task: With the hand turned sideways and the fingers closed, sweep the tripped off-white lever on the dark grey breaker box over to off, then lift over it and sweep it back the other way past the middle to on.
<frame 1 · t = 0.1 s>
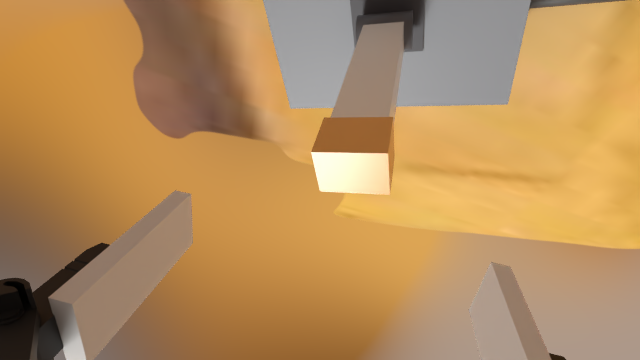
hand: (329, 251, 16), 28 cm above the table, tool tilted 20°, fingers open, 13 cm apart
breaker lever: (373, 79, 20), point 18 cm above the table, hinge at 0.0°
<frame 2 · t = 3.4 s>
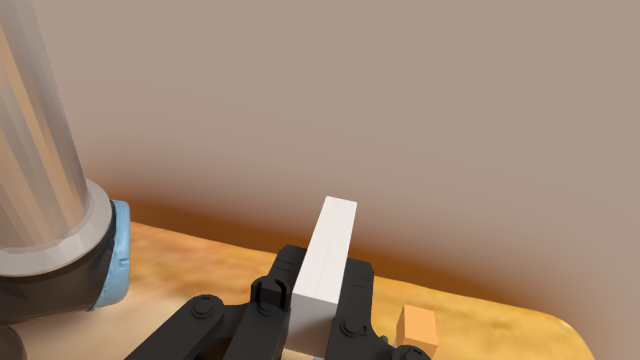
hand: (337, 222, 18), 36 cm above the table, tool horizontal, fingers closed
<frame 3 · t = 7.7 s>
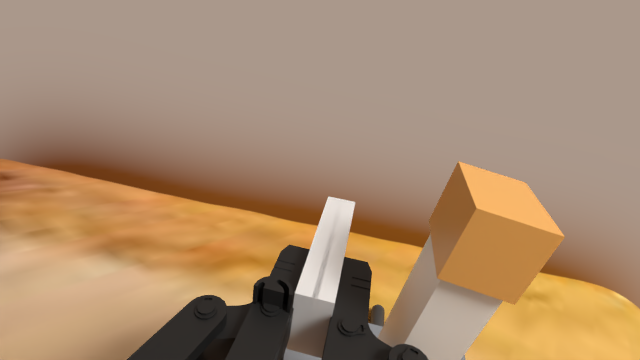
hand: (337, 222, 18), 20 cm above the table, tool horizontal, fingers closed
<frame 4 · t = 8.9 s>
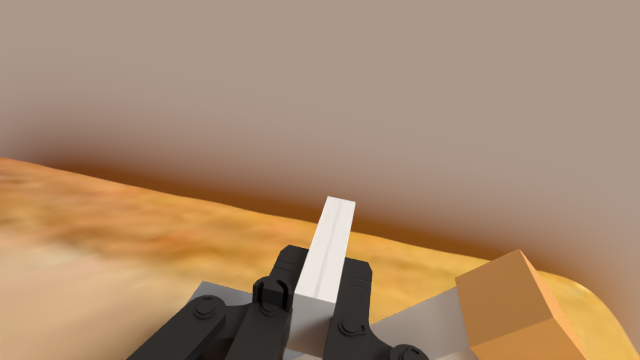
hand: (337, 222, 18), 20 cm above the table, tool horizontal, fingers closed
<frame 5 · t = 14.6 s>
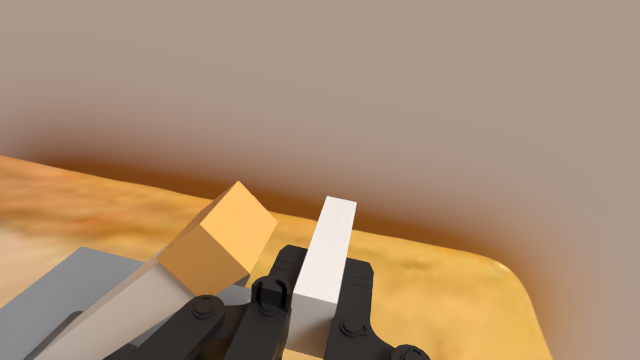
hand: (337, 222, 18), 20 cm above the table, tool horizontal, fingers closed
breaker lever: (128, 307, 15), point 17 cm above the table, hinge at 40.9°, touching gripper
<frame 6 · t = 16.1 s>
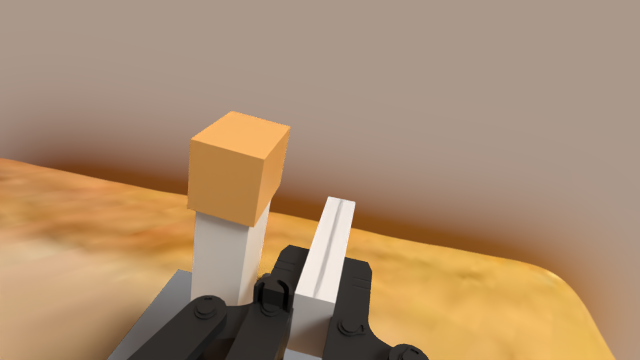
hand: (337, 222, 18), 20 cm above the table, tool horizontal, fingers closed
breaker lever: (224, 300, 15), point 18 cm above the table, hinge at 4.3°, touching gripper
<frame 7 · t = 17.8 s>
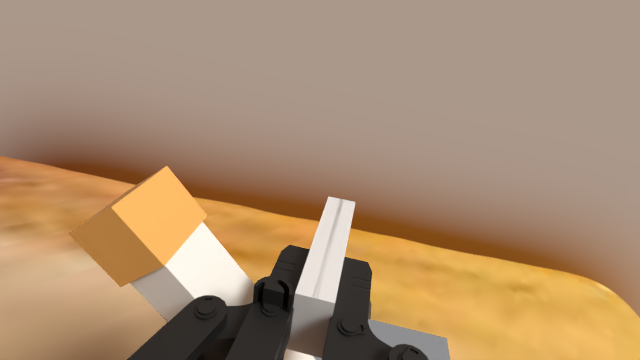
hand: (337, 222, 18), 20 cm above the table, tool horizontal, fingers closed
breaker lever: (252, 344, 15), point 17 cm above the table, hinge at -40.8°, touching gripper
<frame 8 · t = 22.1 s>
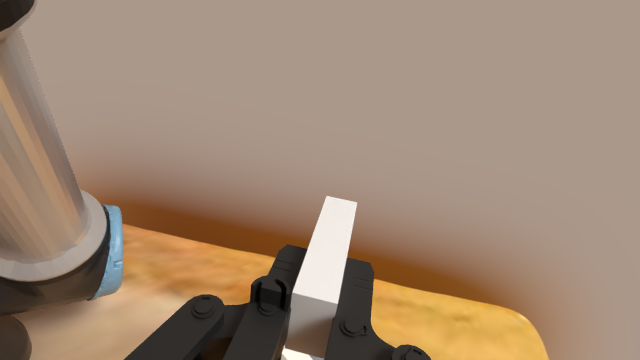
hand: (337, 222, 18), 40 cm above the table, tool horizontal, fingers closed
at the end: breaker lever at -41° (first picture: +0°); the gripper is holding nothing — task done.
